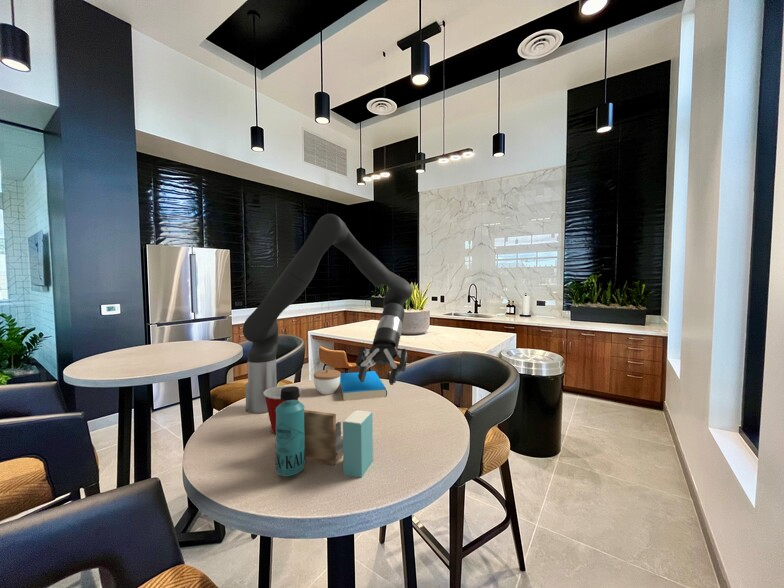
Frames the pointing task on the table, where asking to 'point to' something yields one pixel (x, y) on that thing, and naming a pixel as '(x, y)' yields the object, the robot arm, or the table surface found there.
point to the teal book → (357, 443)
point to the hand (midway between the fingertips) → (375, 382)
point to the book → (361, 386)
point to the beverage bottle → (290, 433)
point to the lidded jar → (327, 381)
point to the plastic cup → (274, 403)
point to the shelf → (322, 437)
